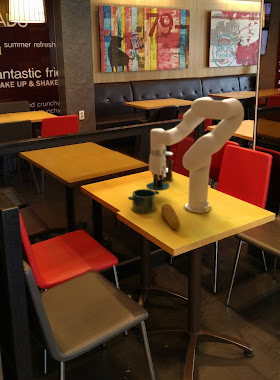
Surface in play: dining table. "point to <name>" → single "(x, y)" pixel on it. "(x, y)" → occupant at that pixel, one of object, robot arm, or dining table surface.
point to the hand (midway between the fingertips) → (158, 185)
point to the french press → (169, 169)
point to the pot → (143, 200)
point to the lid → (154, 187)
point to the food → (170, 215)
